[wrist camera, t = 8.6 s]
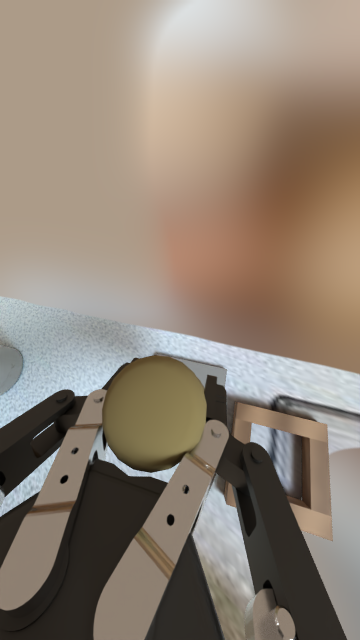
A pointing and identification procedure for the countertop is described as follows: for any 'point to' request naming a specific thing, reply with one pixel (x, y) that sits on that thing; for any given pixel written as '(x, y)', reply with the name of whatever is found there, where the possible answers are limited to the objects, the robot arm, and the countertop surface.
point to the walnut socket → (315, 464)
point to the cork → (154, 413)
